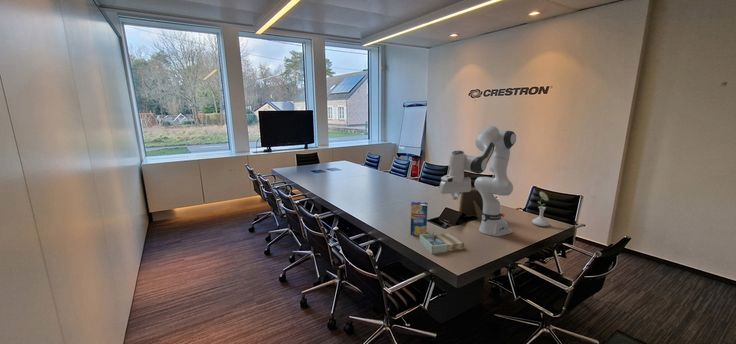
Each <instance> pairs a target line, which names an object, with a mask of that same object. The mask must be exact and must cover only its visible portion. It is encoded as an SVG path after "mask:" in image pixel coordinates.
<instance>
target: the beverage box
mask: <svg viewBox="0 0 736 344" xmlns="http://www.w3.org/2000/svg"><path fill="white" fill-rule="evenodd" d="M428 204H429V203H428V202H425V201H424V202H421V201H411V203H410V235H412V236H420V235H422V234H427V229H428V228H427V221H428V220H427V219H428Z"/></svg>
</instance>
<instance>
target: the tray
mask: <svg viewBox="0 0 736 344" xmlns="http://www.w3.org/2000/svg"><path fill="white" fill-rule="evenodd" d="M418 236H419V237H418V239H419V241H418V242H419V243H420V244H421V245H422V246H423V247H424V248H425V249H426V250H427V251H428V252H429V253H430V254H431V255H435V254H443V253H448V251H447V244H442V245H435V240H434V236H435V232H434V233H433V232H431V233H426V234H422V235H418ZM425 238H431V239H432V240H433V241H434V245H431V244H430V243H429V242H428V241H427V240H426V239H425Z"/></svg>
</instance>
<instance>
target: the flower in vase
mask: <svg viewBox="0 0 736 344" xmlns="http://www.w3.org/2000/svg"><path fill="white" fill-rule="evenodd" d="M539 197H541V199H540V201H539V200H538V201H537V204H540V206H538V209H539V215H538V216H537V217H536V218H534V219H532V220H531V223H532V224H533V225H535V226H537V227H548V226H550V222H549V221H548V220H547V219H546V218H545V217H544V212H545V210H546V209H547V207H546V206H544V205H546V203H543V204H542V203H541V202H542V200H544V201H545V202H548V201H549V196H548V195H547V194H546V193H545V192H544V191H539Z"/></svg>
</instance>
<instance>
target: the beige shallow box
mask: <svg viewBox="0 0 736 344" xmlns="http://www.w3.org/2000/svg"><path fill="white" fill-rule="evenodd" d="M435 239H439V240H441V241H442V242H443V244H447V252H450V251H451V252H452V251H458V250H459V251H460V250H464V249H465V242H464V241H462V240H461V239H460V238H458V237H457V236H456V235H454V234H453V233H451V232H447V233H439V234H434V240H435Z"/></svg>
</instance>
